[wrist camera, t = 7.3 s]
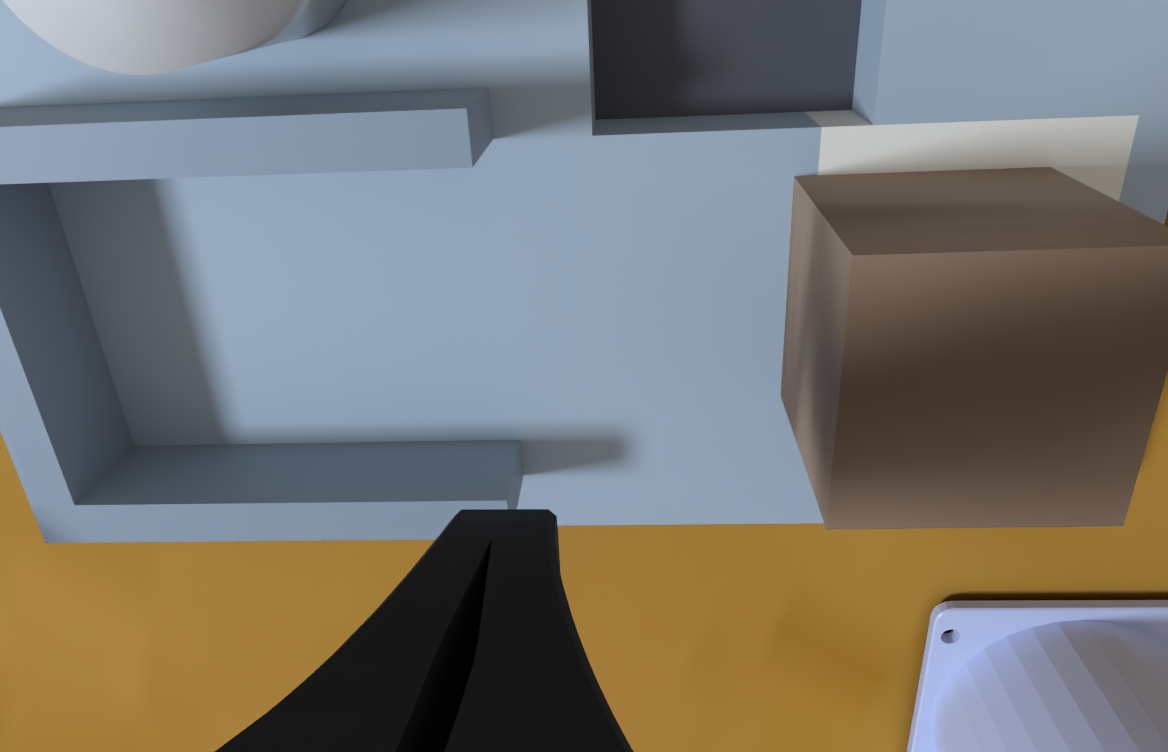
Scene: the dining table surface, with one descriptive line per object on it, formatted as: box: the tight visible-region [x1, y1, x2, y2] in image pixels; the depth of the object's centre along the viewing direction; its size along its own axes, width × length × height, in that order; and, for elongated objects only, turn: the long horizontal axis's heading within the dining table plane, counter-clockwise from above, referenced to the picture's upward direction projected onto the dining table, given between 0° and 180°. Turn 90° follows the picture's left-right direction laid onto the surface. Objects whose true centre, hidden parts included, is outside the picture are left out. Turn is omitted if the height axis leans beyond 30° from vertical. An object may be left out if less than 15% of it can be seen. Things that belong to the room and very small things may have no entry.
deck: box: [0, 0, 1168, 543], centre depth 17 cm, size 17×24×4 cm
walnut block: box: [781, 167, 1168, 529], centre depth 16 cm, size 5×5×5 cm
